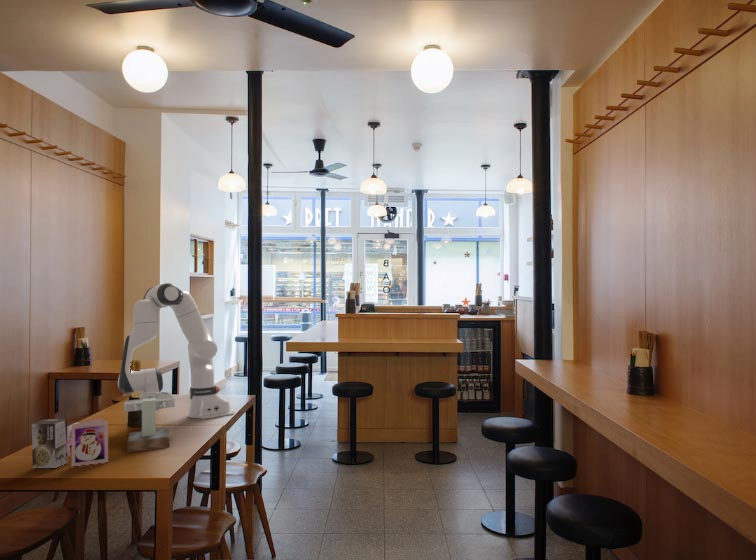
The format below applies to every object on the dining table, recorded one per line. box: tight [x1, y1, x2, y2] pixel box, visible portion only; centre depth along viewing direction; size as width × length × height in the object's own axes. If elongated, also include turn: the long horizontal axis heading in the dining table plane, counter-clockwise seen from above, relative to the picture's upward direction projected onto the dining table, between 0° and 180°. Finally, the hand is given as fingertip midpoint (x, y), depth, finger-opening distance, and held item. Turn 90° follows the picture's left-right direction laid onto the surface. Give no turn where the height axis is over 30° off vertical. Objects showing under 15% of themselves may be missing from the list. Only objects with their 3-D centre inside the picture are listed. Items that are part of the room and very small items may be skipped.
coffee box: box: [31, 418, 68, 469], centre depth 182 cm, size 9×6×16 cm
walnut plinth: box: [126, 427, 170, 453], centre depth 206 cm, size 15×15×4 cm
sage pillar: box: [141, 398, 157, 437], centre depth 206 cm, size 5×5×14 cm
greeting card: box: [71, 417, 109, 468], centre depth 185 cm, size 11×7×15 cm, turn 114°
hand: (149, 407), depth 215 cm, fingers open, 8 cm apart
